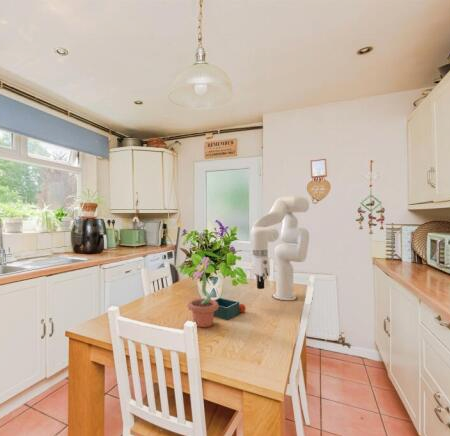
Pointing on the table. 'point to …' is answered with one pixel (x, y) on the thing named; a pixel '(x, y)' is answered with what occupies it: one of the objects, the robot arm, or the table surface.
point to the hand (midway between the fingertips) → (260, 288)
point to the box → (226, 308)
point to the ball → (241, 308)
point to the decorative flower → (203, 307)
